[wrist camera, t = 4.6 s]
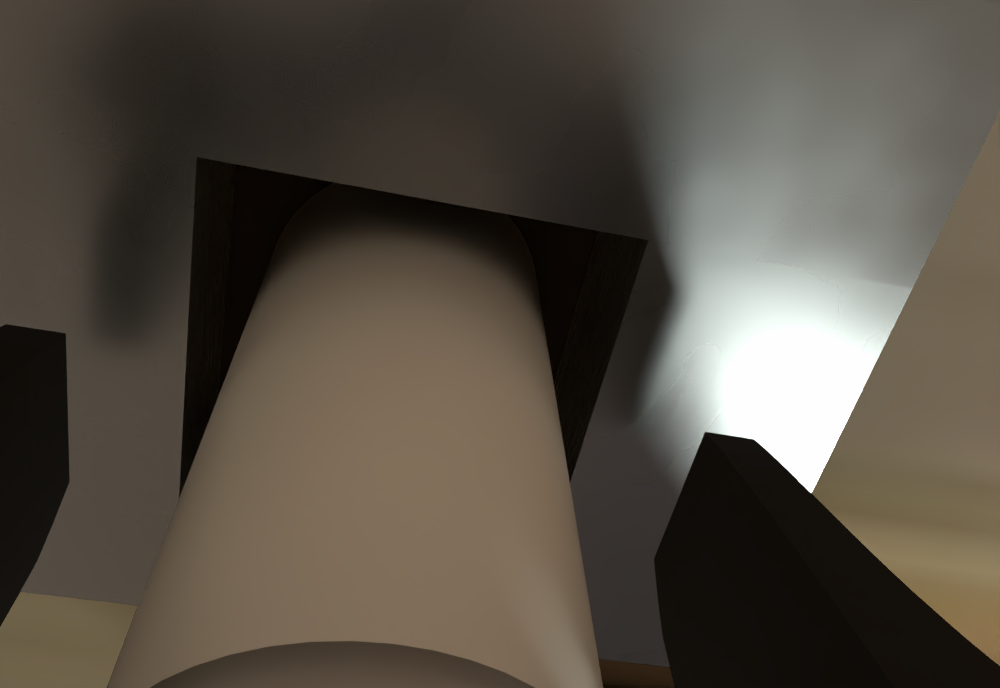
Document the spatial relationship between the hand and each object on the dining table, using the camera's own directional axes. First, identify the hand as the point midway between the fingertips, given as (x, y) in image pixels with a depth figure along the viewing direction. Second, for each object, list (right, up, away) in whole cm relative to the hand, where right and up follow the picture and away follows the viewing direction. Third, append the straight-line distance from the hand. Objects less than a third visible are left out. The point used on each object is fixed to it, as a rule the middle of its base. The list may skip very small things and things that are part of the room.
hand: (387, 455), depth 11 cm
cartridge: (0, +2, +3) cm, 4 cm away
